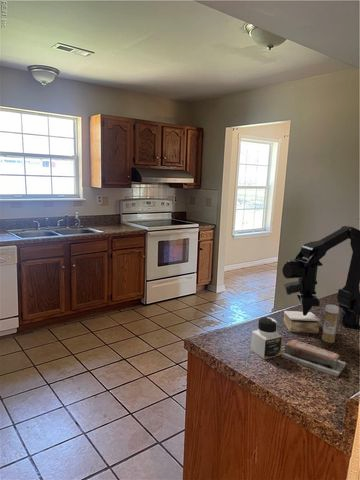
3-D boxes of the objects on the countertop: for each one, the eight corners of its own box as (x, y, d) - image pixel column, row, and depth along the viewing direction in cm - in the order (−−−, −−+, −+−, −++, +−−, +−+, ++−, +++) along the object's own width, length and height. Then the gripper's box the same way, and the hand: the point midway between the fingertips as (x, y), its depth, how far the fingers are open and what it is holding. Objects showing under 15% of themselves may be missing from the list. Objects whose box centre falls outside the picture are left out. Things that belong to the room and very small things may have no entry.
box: (309, 322, 144) (310, 313, 144) (318, 333, 134) (319, 323, 134) (283, 321, 145) (284, 312, 144) (290, 331, 135) (291, 322, 134)
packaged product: (281, 344, 114) (292, 335, 122) (280, 358, 115) (291, 348, 123) (339, 364, 103) (347, 352, 111) (337, 378, 104) (345, 365, 112)
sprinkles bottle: (319, 340, 128) (323, 306, 126) (323, 336, 132) (327, 303, 129) (332, 344, 125) (337, 309, 123) (336, 340, 129) (340, 306, 126)
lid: (310, 313, 144) (311, 312, 143) (320, 321, 133) (320, 319, 133) (284, 312, 144) (284, 310, 144) (291, 319, 134) (291, 318, 134)
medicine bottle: (264, 359, 113) (267, 325, 110) (250, 350, 119) (252, 317, 117) (280, 355, 116) (283, 321, 114) (266, 346, 122) (268, 314, 120)
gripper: (284, 269, 143) (280, 304, 145) (289, 281, 125) (285, 322, 127) (312, 271, 141) (308, 307, 143) (322, 284, 123) (317, 325, 125)
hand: (304, 315), depth 135 cm, fingers closed
